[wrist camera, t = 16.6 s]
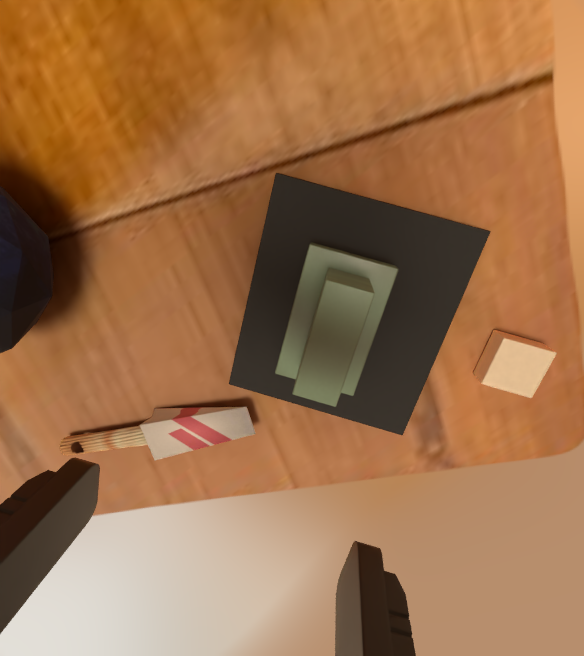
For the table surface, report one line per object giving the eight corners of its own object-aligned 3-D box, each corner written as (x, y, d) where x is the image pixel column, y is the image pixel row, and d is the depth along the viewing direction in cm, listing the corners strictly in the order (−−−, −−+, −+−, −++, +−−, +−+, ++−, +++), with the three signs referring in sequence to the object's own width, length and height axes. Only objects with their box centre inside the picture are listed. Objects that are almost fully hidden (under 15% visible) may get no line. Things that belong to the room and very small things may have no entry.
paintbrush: (253, 449, 32) (64, 470, 36) (260, 430, 34) (83, 452, 39) (240, 410, 31) (47, 437, 35) (249, 394, 33) (68, 421, 38)
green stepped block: (312, 240, 28) (303, 251, 21) (393, 262, 28) (410, 281, 21) (279, 360, 32) (263, 402, 25) (352, 381, 31) (355, 429, 25)
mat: (277, 173, 27) (275, 172, 27) (487, 230, 27) (490, 231, 26) (230, 381, 34) (228, 384, 33) (401, 431, 33) (402, 435, 32)
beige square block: (493, 329, 29) (504, 337, 27) (543, 343, 29) (557, 352, 27) (472, 373, 30) (481, 384, 29) (520, 386, 30) (532, 398, 28)
